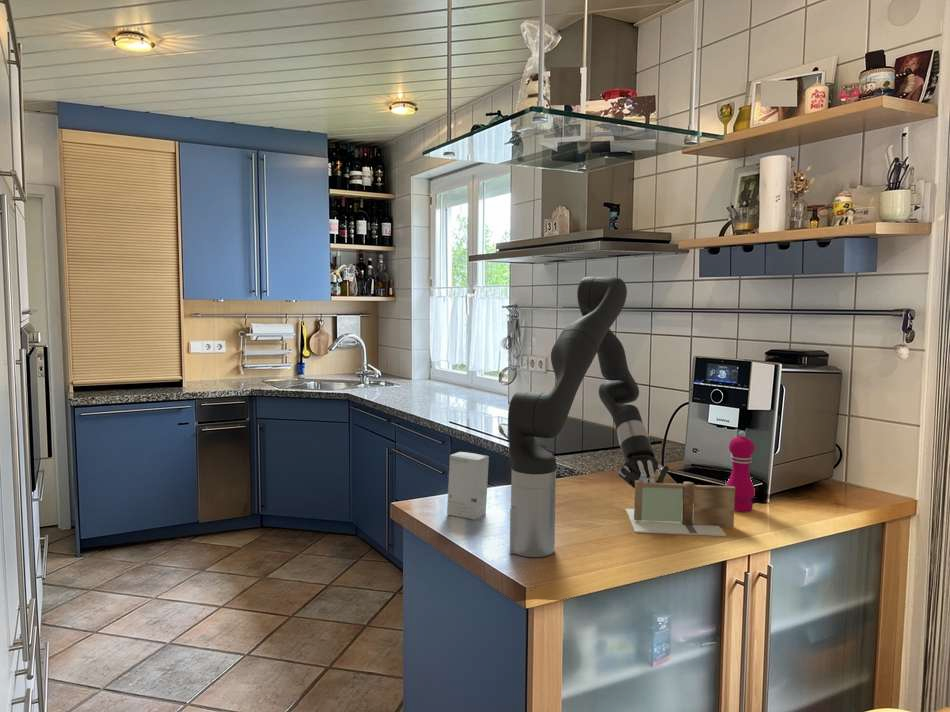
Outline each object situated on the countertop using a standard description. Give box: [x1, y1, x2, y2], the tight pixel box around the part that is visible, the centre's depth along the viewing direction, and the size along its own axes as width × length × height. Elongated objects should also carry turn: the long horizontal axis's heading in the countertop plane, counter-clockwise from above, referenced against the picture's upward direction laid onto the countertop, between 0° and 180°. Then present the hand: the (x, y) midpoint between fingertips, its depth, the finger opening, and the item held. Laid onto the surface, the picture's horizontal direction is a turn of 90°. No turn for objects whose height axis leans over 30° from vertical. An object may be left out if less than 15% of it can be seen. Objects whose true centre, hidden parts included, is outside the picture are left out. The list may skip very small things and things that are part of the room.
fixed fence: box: [682, 481, 735, 528], centre depth 158 cm, size 12×2×10 cm, turn 84°
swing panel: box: [633, 480, 683, 522], centre depth 160 cm, size 11×2×9 cm, turn 84°
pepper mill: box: [725, 430, 755, 513], centre depth 172 cm, size 7×7×20 cm
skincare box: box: [446, 451, 490, 521], centre depth 165 cm, size 8×6×15 cm
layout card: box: [625, 508, 727, 537], centre depth 161 cm, size 20×17×1 cm
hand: (653, 502), depth 162 cm, fingers closed
